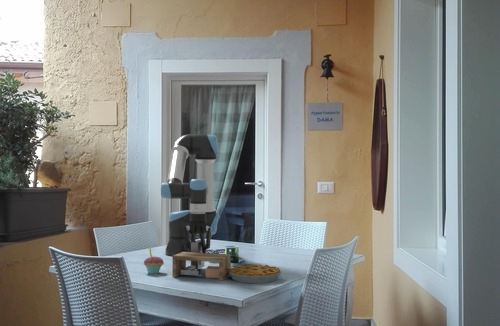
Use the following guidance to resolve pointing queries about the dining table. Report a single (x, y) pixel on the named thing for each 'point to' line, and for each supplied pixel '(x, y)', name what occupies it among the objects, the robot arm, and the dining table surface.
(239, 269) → the pie
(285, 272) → the dining table surface
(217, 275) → the block
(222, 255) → the shelf
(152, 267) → the cupcake
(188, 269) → the hook tool
